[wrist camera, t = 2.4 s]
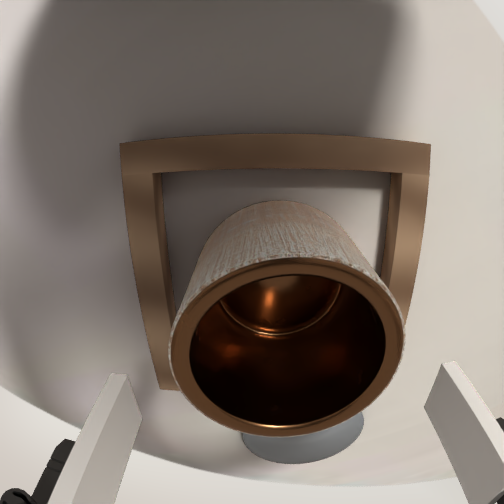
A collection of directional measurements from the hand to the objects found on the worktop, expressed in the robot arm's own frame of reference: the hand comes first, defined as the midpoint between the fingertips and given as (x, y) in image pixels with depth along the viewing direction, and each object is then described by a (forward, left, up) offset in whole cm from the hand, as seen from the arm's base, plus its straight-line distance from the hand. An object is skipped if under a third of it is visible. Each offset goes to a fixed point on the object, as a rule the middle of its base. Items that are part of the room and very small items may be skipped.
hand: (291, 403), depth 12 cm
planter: (0, 0, -12) cm, 12 cm away
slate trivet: (+17, +3, -11) cm, 20 cm away
